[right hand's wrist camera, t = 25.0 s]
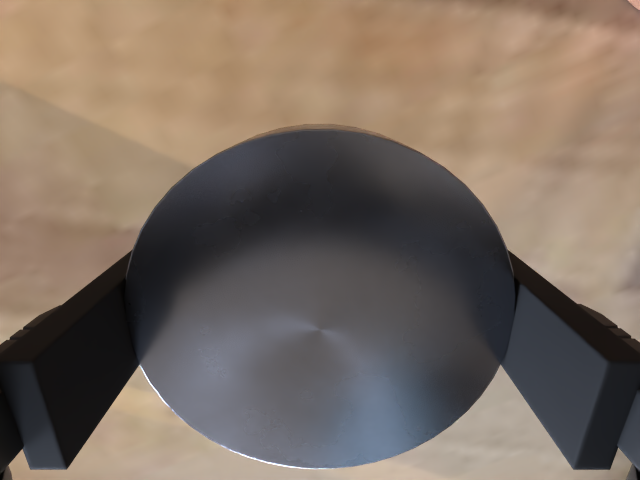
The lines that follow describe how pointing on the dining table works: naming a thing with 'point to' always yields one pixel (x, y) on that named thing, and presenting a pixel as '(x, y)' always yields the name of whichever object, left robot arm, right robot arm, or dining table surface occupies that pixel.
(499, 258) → the lid
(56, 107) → the dining table surface
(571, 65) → the dining table surface
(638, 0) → the jar
